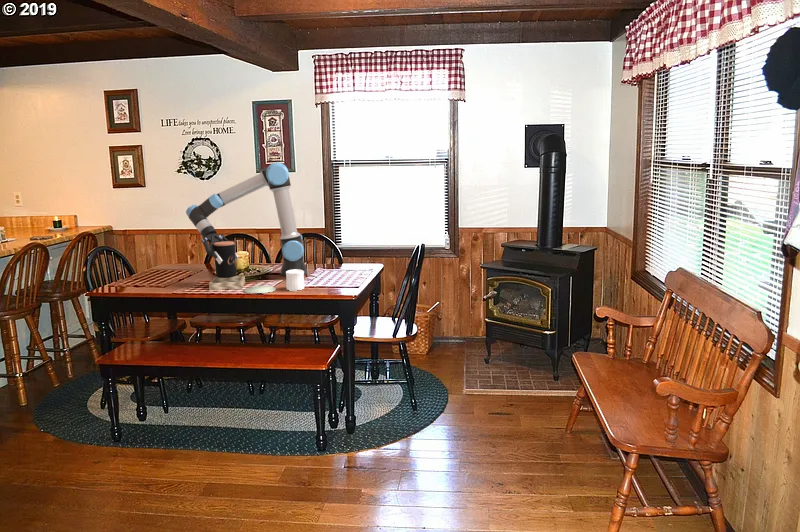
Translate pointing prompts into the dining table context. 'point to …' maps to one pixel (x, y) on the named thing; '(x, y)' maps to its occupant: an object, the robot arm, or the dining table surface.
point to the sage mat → (260, 289)
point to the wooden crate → (227, 283)
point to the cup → (294, 280)
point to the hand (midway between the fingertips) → (229, 260)
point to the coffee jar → (225, 259)
